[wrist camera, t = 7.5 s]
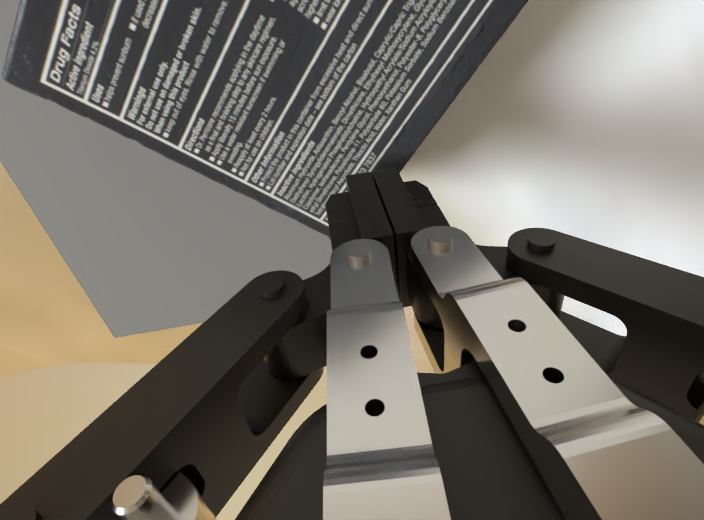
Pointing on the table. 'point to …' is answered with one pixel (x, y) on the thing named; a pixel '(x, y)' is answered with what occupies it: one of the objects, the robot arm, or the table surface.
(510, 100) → the table surface
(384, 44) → the small box
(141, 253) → the mat
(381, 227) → the robot arm
